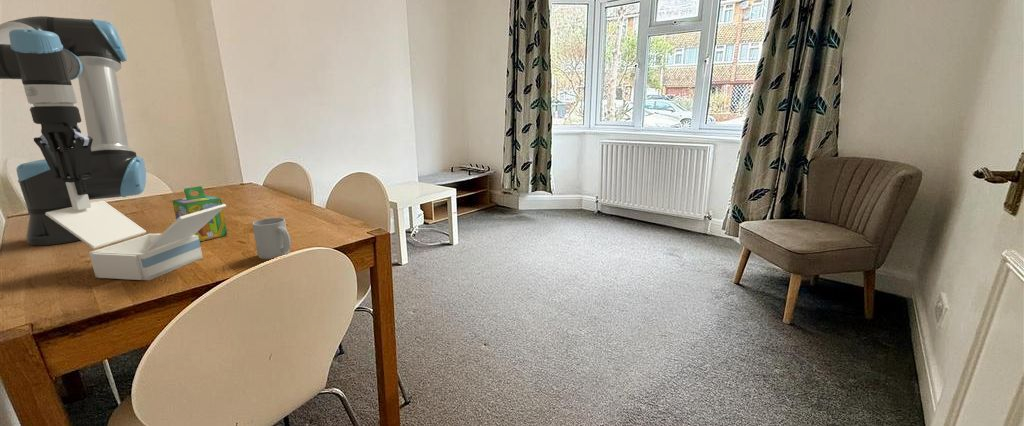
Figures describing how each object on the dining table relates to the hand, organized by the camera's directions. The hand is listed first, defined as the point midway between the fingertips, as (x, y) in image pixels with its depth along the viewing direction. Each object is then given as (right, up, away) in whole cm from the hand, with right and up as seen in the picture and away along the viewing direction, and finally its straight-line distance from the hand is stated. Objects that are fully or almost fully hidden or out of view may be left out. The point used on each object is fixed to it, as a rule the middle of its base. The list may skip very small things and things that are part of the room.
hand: (82, 208), depth 100 cm
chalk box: (+11, -8, +24) cm, 28 cm away
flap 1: (+9, -7, +1) cm, 12 cm away
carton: (+15, -14, +1) cm, 21 cm away
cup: (+42, -12, +8) cm, 44 cm away
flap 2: (+22, -8, -1) cm, 23 cm away
